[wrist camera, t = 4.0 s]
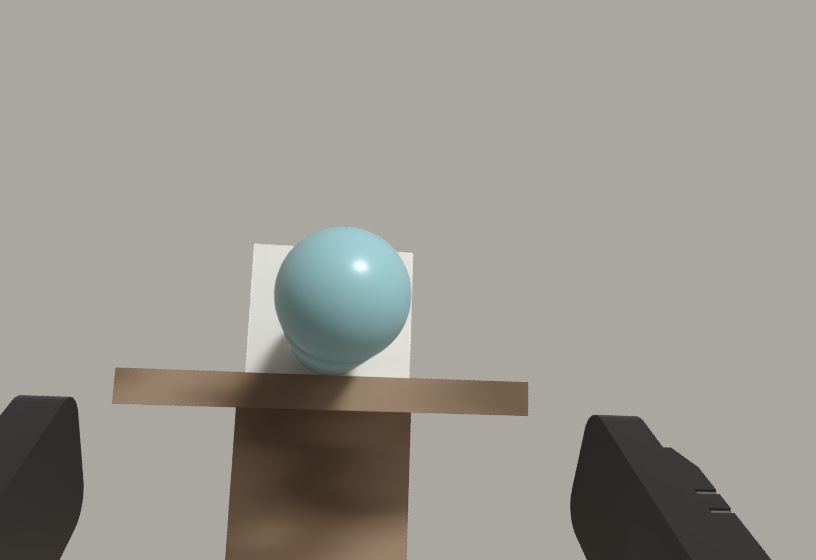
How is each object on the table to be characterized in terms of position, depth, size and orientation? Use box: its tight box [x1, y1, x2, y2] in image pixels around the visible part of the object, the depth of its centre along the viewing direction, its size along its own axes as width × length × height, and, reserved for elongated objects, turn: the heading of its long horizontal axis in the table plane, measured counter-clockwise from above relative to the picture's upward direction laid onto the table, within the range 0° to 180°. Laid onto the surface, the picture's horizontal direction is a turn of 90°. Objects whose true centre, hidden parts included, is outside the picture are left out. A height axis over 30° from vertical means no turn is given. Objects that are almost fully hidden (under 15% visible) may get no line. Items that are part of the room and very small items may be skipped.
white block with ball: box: [245, 226, 413, 378], centre depth 24 cm, size 5×23×4 cm, turn 8°
